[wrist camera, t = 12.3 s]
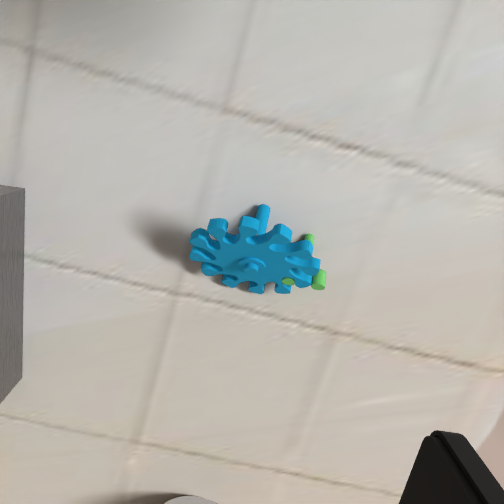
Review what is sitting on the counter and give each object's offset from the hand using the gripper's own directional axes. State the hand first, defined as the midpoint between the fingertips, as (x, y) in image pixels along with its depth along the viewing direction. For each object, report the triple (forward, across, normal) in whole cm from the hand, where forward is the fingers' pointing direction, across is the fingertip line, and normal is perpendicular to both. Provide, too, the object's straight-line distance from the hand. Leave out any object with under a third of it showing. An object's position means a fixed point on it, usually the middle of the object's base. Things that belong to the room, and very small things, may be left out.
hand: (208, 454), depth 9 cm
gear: (+28, -3, +3) cm, 28 cm away
